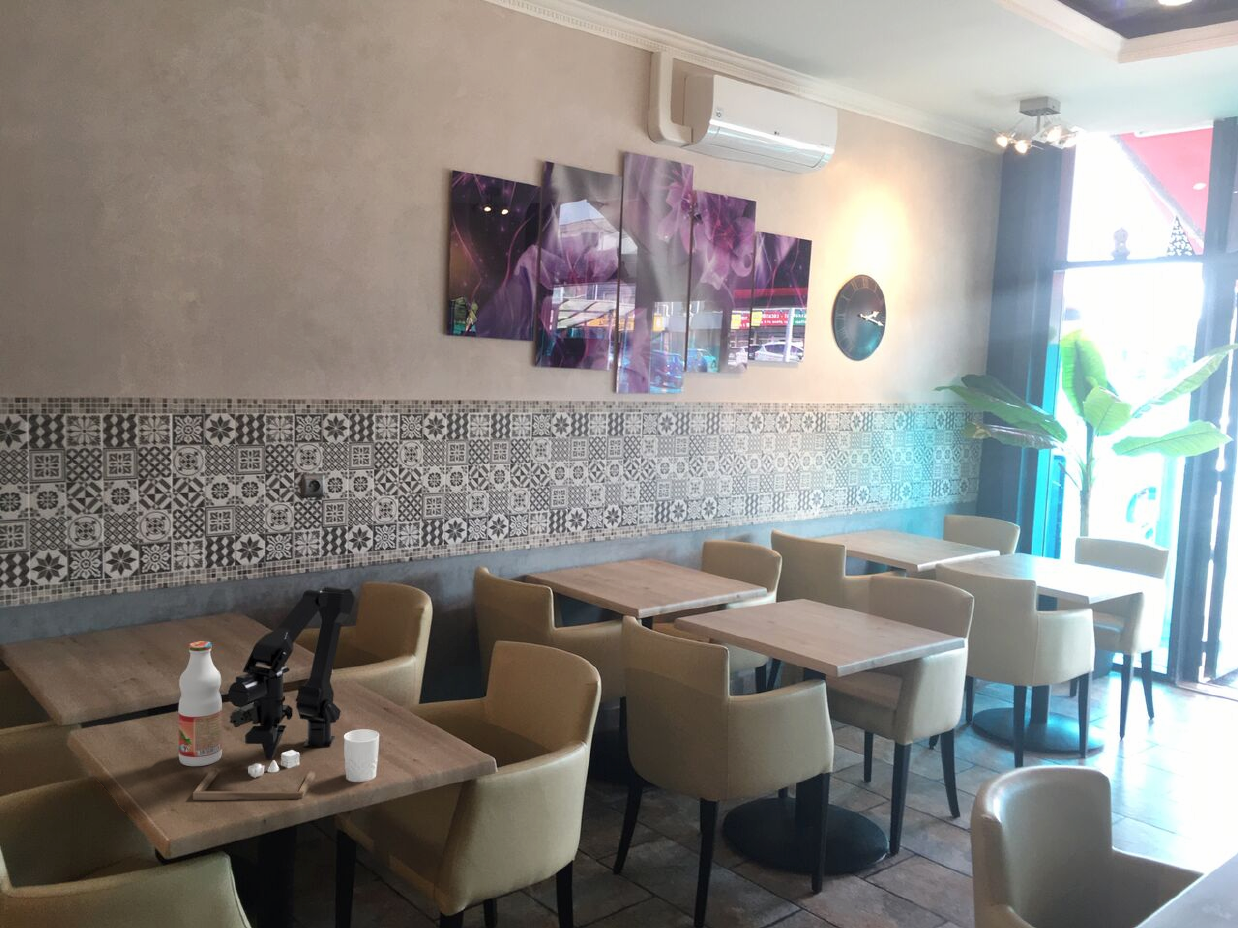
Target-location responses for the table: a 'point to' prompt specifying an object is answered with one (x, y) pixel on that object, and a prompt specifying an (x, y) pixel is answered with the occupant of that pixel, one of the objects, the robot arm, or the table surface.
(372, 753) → the white cup
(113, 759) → the table surface
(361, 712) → the table surface
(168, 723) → the table surface
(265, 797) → the rail corral
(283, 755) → the game pieces
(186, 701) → the fruit juice
